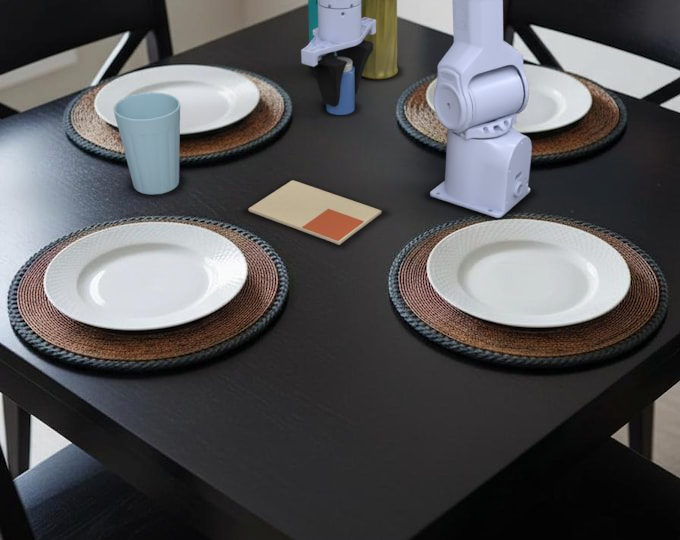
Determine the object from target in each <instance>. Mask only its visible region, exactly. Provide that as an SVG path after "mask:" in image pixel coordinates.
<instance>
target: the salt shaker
mask: <svg viewBox="0 0 680 540" xmlns="http://www.w3.org/2000/svg"><path fill="white" fill-rule="evenodd" d="M337 59H340V60H344V61H347V64H346V66H345V68H344V71H343V75H342V79H341V86H340V99H339V103H338V105H337V106H331V105H328V104H325V110H326V112H327V113H329V114H331V115H335V116H345V115H349V114H352V113H353V112H355V109H356V94H355V68H354V66H353V62H352V60H351V59H350V58H347V57H337Z"/></svg>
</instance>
